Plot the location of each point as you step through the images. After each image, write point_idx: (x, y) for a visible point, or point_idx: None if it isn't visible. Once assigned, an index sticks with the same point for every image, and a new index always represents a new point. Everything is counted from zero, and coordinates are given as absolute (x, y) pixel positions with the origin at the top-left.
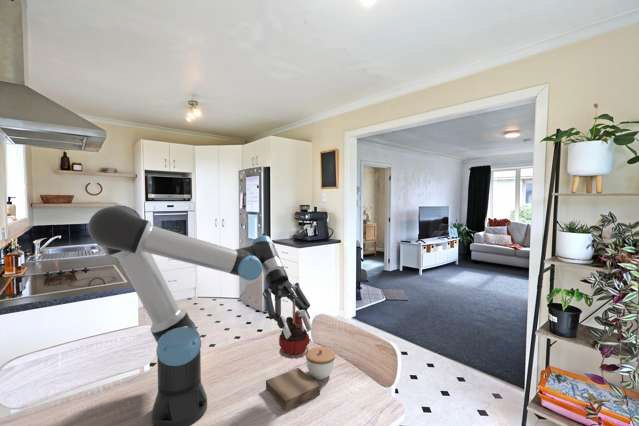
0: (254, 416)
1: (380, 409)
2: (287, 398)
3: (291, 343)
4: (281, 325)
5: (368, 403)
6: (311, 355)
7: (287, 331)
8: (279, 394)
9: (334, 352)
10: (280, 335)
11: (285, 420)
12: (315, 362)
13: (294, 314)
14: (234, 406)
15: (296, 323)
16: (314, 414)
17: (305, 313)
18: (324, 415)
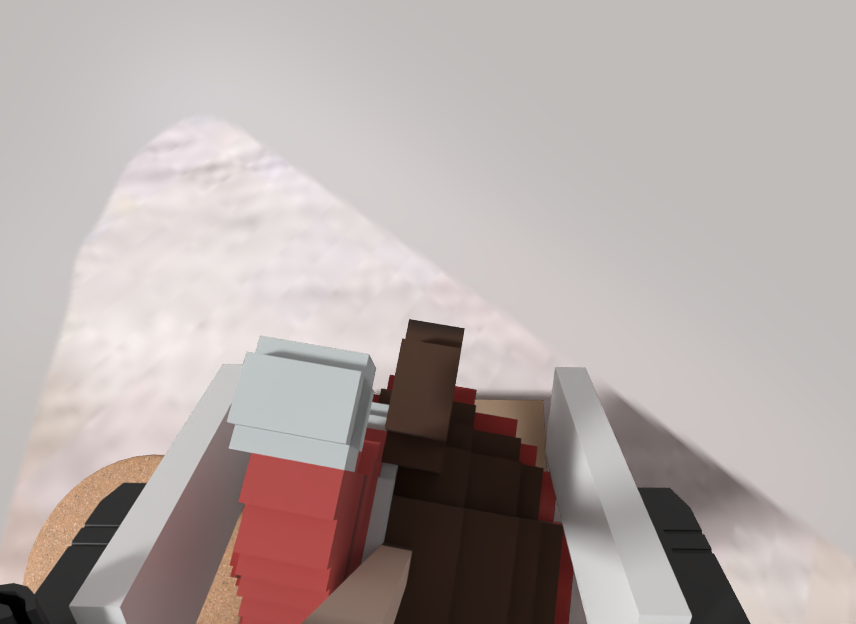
0: (676, 466)
1: (203, 176)
2: (525, 412)
3: (512, 419)
4: (675, 501)
5: (209, 226)
6: (210, 592)
7: (598, 400)
8: (545, 468)
9: (48, 518)
10: None
11: (563, 356)
12: (243, 507)
13: (378, 568)
14: (748, 605)
15: (367, 530)
16: (439, 311)
17: (136, 536)
18: (408, 281)
